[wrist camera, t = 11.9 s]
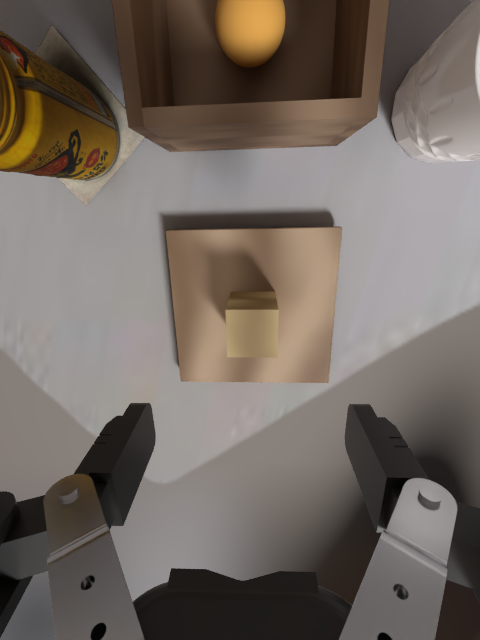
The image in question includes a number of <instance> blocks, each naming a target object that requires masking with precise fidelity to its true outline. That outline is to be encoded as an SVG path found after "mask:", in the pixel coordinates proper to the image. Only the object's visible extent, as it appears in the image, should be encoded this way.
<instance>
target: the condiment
mask: <svg viewBox="0 0 480 640" xmlns="http://www.w3.org/2000/svg"><path fill="white" fill-rule="evenodd" d="M80 83H81V84H80ZM144 138H145V137H144V136H142V135H140V134H139V133H137V132H135V131H133V130H132V129H130V128H128V122H127V114H126V109H125V108H124V107H123V106H122V105H121V103H120V102H119V101H118V100H117V99H116V98H115V96H114V95H113V94H112V93H111V92H110V91H109V90H108V88H107V87H106V86H105V85H104V84H103V83H102V82H101V80H100V79H99V78H98V77H97V76H96V75H95V74H94V73H93V72H92V70H91V69H90V68H89V67H88V66H87V65H86V63H85V62H84V61H83V60H82V59H81V58H80V56H79V55H78V54H77V53H76V52H75V51H74V50H73V48H72V47H71V46H70V45H69V44H68V43H67V42H66V41H65V40H64V38H63V37H62V36H61V35H60V34H59V33H58V31H57V30H56V29H55V28H54V27H53V26H52V25H51V27H50V29H49V31H48V32H47V34H46V36H45V38H44V40H43V42H42V43H41V44H40V46H39V48H38V49H37V51H36V52H35V54H34V53H33V52H31V51H30V50H28V49H27V48H26V47H24V46H22V45H21V44H20V43H18V42H16V41H15V40H14V39H12V38H11V37H10V36H8V35H6V34H4V33H3V32H2V31H0V171H5V172H19V173H26V174H32V175H37V176H49V177H56V178H59V179H60V180H61V181H62V182H63V183H64V184H65V185H66V186H67V187H68V188H69V189H70V191H71V192H72V193H73V194H74V195H75V196H76V197H77V198H78V199H79V200H80V201H81V202H82V203H83V204H84V206H86V205H87V204H88V203H89V202H90V201H91V200H92V198H93V197H94V196H95V195H96V194H97V193H98V192H99V190H100V189H101V188H102V187H103V186H104V185H105V184H106V183H107V181H108V180H109V179H110V178H111V177H112V176H113V175H114V173H115V172H116V171H117V170H118V169H119V168H120V166H121V165H122V164H123V163H124V162H125V160H126V159H127V158H128V157H129V156H130V154H131V153H132V152H133V150H134V149H135V148H136V147H137V146H138V145H139V143H140V142H141V141H142V140H143V139H144Z"/></svg>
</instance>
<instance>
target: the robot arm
mask: <svg viewBox="0 0 480 640" xmlns="http://www.w3.org/2000/svg"><path fill="white" fill-rule="evenodd" d="M345 445H346V451H347V454H348V456H349V459H350V461H351V464H352V467H353V470H354V472H355V475H356V478H357V481H358V483H359V486H360V489H361V491H362V494H363V497H364V499H365V502H366V505H367V507H368V510H369V513H370V516H371V518H372V521H373V524H374V526H375V529H376V532H382V534H381V537H380V539H379V541H378V544H377V546H376V549H375V551H374V554H373V556H372V559H371V561H370V564H369V567H368V569H367V571H366V574H365V576H364V579H363V581H362V584H361V586H360V588H359V591H358V593H357V596H356V598H355V601H354V604H353V606H352V605H350V604H349V603H348V602H347V601H345V600H344V599H343V598H341V597H340V596H338V595H336V594H335V593H333V592H331V591H329V590H327V589H325V588H322V587H319V586H318V583H317V577H316V573H315V572H286V571H285V572H284V571H279V572H275V573H272V574H268V575H264V576H261V577H257V578H254V579H250V580H246V581H240V580H236V579H233V578H230V577H227V576H224V575H221V574H218V573H215V572H212V571H209V570H206V569H171V572H170V577H169V581H168V582H167V583H163V584H161V585H158V586H156V587H154V588H152V589H150V590H149V591H147V592H145V593H144V594H142V595H141V596H140V597H138V598H137V599H136V600H135V601H134V602H132V599H131V596H130V593H129V589H128V586H127V583H126V580H125V577H124V574H123V571H122V568H121V565H120V561H119V558H118V556H117V552H116V549H115V546H114V543H113V540H112V537H111V534H110V528H111V526H123V525H124V522H125V520H126V517H127V515H128V512H129V510H130V507H131V505H132V502H133V500H134V497H135V495H136V492H137V490H138V487H139V485H140V482H141V480H142V477H143V475H144V472H145V470H146V467H147V465H148V462H149V460H150V457H151V455H152V452H153V450H154V446H155V428H154V421H153V414H152V408H151V405H150V403H131V404H130V405H129V406H128V408H127V409H126V411H125V413H124V414H123V416H116V417H115V418H113V419H112V420H111V421H110V422H108V423H107V424H106V425H105V427H104V428H103V430H102V431H101V433H100V436H98V438H97V439H96V441H95V442H94V444H93V445H92V447H91V448H90V450H89V451H88V453H87V454H86V456H85V457H84V459H83V460H82V462H81V464H80V465H79V467H78V468H77V470H76V471H75V473H74V474H73V475H70V476H67V477H65V478H63V479H61V480H59V481H58V482H56V483H55V484H54V485H53V486H52V487H51V488H50V489H49V490H48V491H47V493H46V495H44V496H40V497H36V498H32V499H28V500H24V501H20V502H16V500H15V497H14V495H13V494H12V493H10V492H0V637H1V635H2V634H3V632H4V630H5V628H6V626H7V624H8V622H9V620H10V619H11V617H12V615H13V613H14V611H15V609H16V607H17V605H18V603H19V602H20V600H21V598H22V596H23V594H24V592H25V590H26V588H27V586H28V585H29V583H30V581H31V579H32V577H33V575H35V574H39V573H42V572H45V571H48V575H49V584H50V592H51V601H52V609H53V618H54V626H55V635H56V640H435V634H436V628H437V624H438V619H439V613H440V608H441V603H442V598H443V592H444V587H445V582H446V580H449V581H452V582H455V583H458V584H461V585H463V586H466V587H469V588H472V589H473V591H474V593H475V595H476V597H477V599H478V601H479V603H480V508H477V507H472V506H469V505H466V504H462V503H459V502H457V501H455V499H454V498H453V496H452V495H451V494H450V493H449V492H448V491H447V490H446V489H445V488H443V487H442V486H440V485H439V484H437V483H435V482H433V481H430V480H429V479H428V477H427V475H426V474H425V472H424V471H423V469H422V467H421V466H420V464H419V463H418V461H417V459H416V458H415V456H414V455H413V453H412V451H411V450H410V448H408V445H407V444H406V442H405V440H404V439H403V438H402V436H401V434H400V432H399V431H398V429H397V428H396V426H395V425H393V424H392V423H391V422H390V421H388V420H387V419H386V418H382V417H381V418H380V417H379V418H378V417H377V416H376V414H375V412H374V411H373V409H372V407H371V405H369V404H350V405H349V407H348V413H347V422H346V430H345Z"/></svg>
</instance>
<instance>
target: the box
mask: <svg viewBox="0 0 480 640" xmlns="http://www.w3.org/2000/svg"><path fill="white" fill-rule="evenodd" d="M217 2H218V0H112V6H113V14H114V22H115V30H116V37H117V45H118V53H119V60H120V68H121V76H122V83H123V91H124V99H125V107H126V114H127V122H128V128H130V129H132V130H133V131H135V132H137V133H139V134H140V135H142V136H144V137H145V138H147V139H149V140H151V141H152V142H154V143H156V144H157V145H159V146H161V147H163V148H164V149H166V150H168V151H169V152H180V151H207V150H234V149H261V148H288V147H314V146H337V145H338V144H340V143H341V142H343V141H344V140H345V139H347V138H348V137H350V136H351V135H352V134H354V133H355V132H357V131H358V130H359V129H361V128H362V127H364V126H365V125H366V124H368V123H369V122H370V121H372V120H373V119H375V118H376V117H377V111H378V101H379V92H380V83H381V74H382V64H383V55H384V46H385V36H386V27H387V18H388V9H389V0H283V2H284V7H285V29H284V34H283V37H282V40H281V43H280V45H279V47H278V49H277V50H276V52H275V53H274V55H273V56H272V57H271V58H270V59H269V60H268V61H267V62H265V63H264V64H262V65H259V66H256V67H242V66H240V65H237V64H236V63H234V62H233V61H231V60H230V59H229V58H228V57H227V55H226V54H225V53H224V51H223V50H222V48H221V46H220V43H219V41H218V38H217V34H216V27H215V13H216V6H217Z"/></svg>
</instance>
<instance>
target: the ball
mask: <svg viewBox="0 0 480 640" xmlns="http://www.w3.org/2000/svg"><path fill="white" fill-rule="evenodd" d="M215 27H216V34H217V38H218V41H219V43H220V46H221V48H222V50H223V51H224V53H225V54H226V55H227V57H228V58H229V59H230V60H231V61H233V62H234V63H236V64H237V65H240V66H242V67H256V66H259V65H262V64H264V63H265V62H267V61H268V60H269V59H270V58H271V57H272V56H273V55H274V53H275V52H276V50H277V49H278V47H279V45H280V43H281V40H282V37H283V34H284V29H285V7H284V2H283V0H218V2H217V6H216V13H215Z"/></svg>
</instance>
